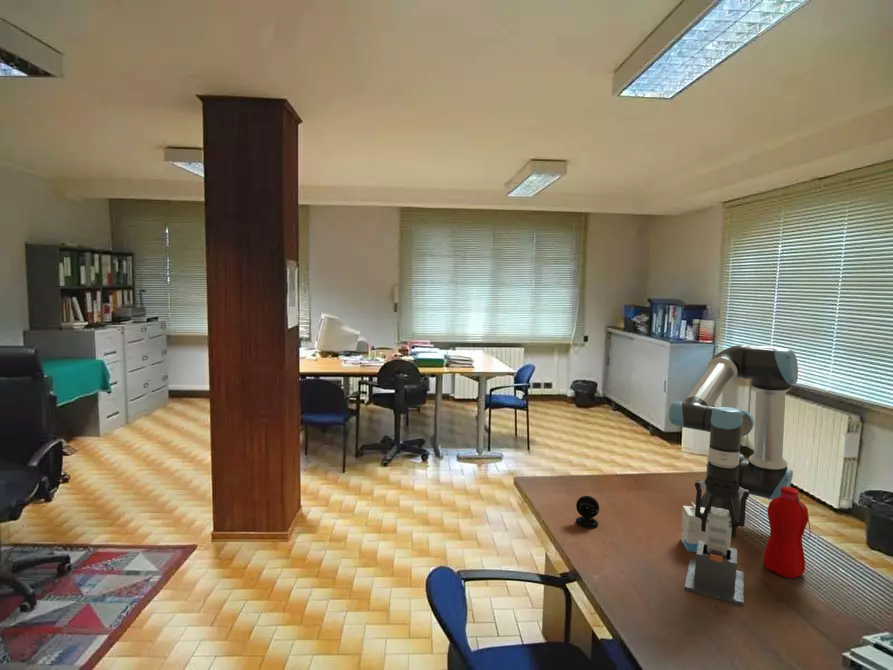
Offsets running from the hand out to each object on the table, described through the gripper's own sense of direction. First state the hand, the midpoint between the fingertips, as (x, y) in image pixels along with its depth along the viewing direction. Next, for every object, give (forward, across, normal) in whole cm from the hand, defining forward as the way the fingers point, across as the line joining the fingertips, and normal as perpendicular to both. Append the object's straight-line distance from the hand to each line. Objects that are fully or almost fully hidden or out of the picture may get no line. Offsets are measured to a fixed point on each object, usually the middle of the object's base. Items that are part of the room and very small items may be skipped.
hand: (717, 545), depth 146 cm
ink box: (+11, -6, +21) cm, 25 cm away
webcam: (+11, -41, +18) cm, 46 cm away
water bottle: (+11, +18, +18) cm, 28 cm away
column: (+10, 0, 0) cm, 10 cm away
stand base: (+11, 0, 0) cm, 11 cm away
